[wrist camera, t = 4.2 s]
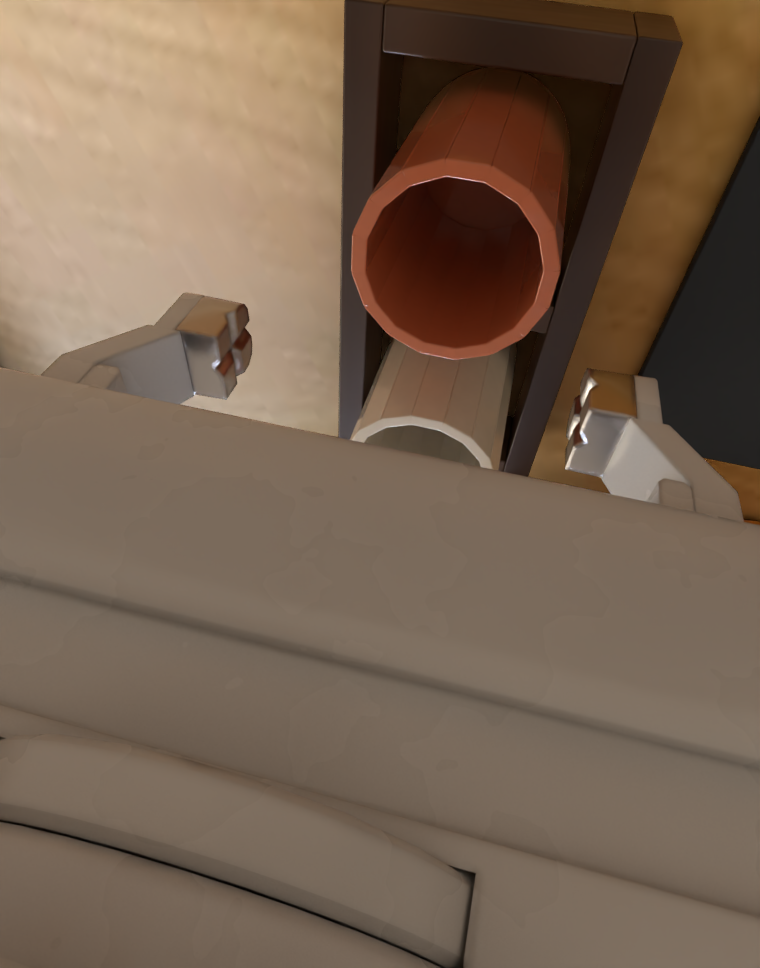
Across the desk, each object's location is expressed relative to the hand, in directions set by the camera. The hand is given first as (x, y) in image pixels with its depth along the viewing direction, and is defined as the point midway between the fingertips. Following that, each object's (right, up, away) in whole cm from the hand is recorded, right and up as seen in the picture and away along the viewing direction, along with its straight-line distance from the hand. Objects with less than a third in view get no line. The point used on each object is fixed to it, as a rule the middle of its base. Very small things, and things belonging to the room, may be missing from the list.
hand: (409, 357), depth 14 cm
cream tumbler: (+3, +4, +15) cm, 15 cm away
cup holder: (+3, +7, +12) cm, 14 cm away
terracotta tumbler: (+3, +9, +8) cm, 13 cm away
